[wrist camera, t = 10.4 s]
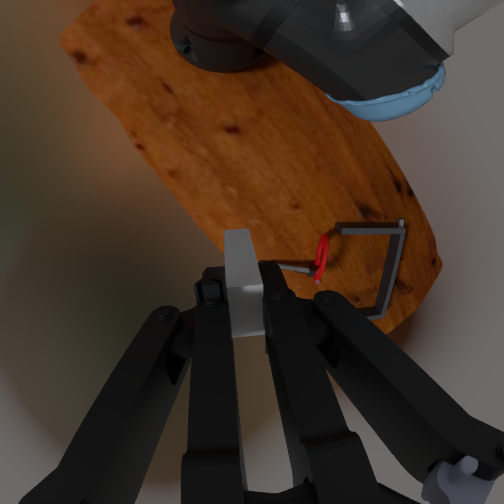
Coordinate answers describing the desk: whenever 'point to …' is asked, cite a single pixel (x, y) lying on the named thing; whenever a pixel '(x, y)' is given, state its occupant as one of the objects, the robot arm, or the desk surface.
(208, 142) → the desk surface
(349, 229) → the bracket
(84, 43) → the desk surface
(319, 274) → the tow hook
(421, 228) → the desk surface
